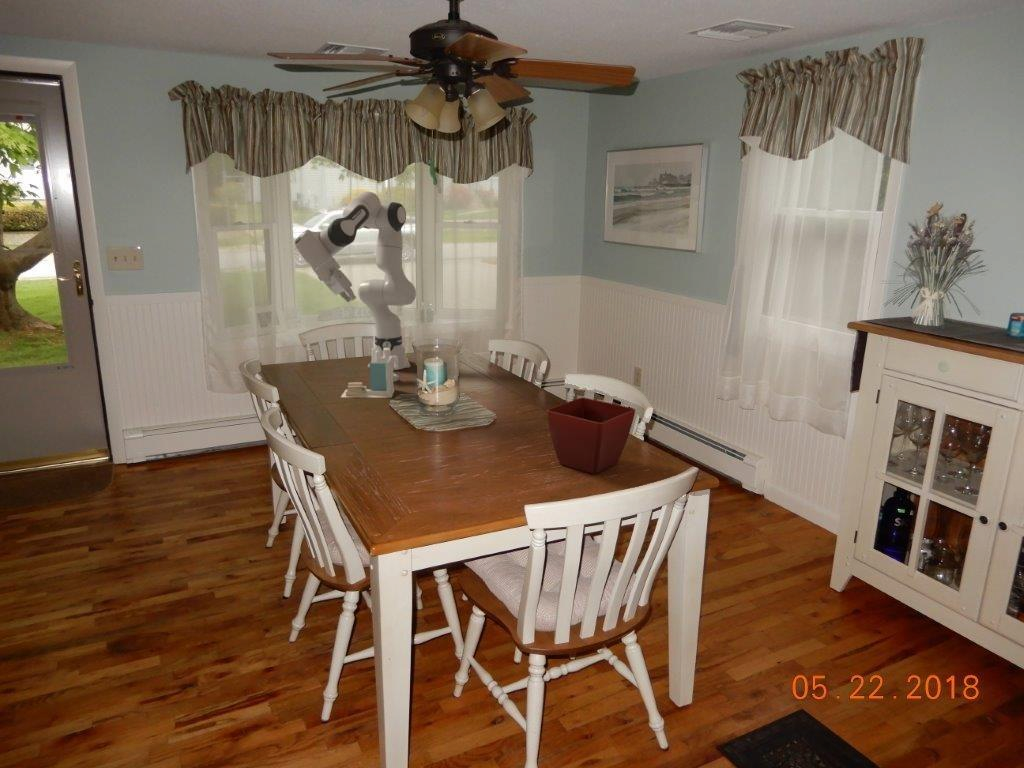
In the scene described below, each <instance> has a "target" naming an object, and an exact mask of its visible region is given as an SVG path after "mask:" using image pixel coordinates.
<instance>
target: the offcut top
mask: <svg viewBox="0 0 1024 768" xmlns="http://www.w3.org/2000/svg"><path fill="white" fill-rule="evenodd" d="M362 386H363V382H362V381H361V382H359V381H357V382H356V381H355V382H348V383H347V389H348V392H351V391H362Z"/></svg>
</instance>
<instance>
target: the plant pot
mask: <svg viewBox="0 0 1024 768" xmlns="http://www.w3.org/2000/svg"><path fill="white" fill-rule="evenodd" d="M635 413H636V409H635V408H633V407H629V406H624V405H619V404H616V403H612V402H611V403H610V402H606V401H602V400H597V399H593V398H589V397H578V398H576V399H573V400H570V401H567V402H565V403H562V404H559V405H556V406H553V407H550V408H548V409H546V417H547V422H548V428H549V432H550V437H551V441H552V446H553V448H554V451H555V454H556V458H557V459H558V462H559V464H560V465H562V466H566V467H569V468H573V469H576V470H580V471H582V472H586V473H590V474H595V475H596V474H598V473H600V472H602V471H604V470H606V469H608V468H611V467H612V466H614V465H617V463H618V462H619V460H620V458H621V456H622V453H623V451H624V448H625V446H626V444H627V441H628V439H629V435H630V432H631V430H632V429H631V428H632V425H633V421H634V418H635Z"/></svg>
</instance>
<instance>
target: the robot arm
mask: <svg viewBox="0 0 1024 768" xmlns="http://www.w3.org/2000/svg"><path fill="white" fill-rule="evenodd" d="M342 216H343V217H339V218H335V219H334V220H333V221H332V222H330V224H328V225H327V226H326V227H325V228H324V229H323V230H321V231H312V230H310V229H306V230H305V231H302V233H301V234H300V235H298V237H296V239H295V241H294V245H295V247H296V249H297V251H298V253H299V254H300V255H301V257H302V258H303V259H304V261H305V262H306V263H307V264H309V265H310V267H311V268H312V270H313V272H314V273H315V275H316V276H317V278H318V279H319V281H320V282H323V283H324V285H325V286H326V287H327V288H328V289H329V290H330V291H331V293H333V294H334V295H336V296H338V295H339V296H340V297H341V298H342V299H344V300H345V302H346V303H349V302H350V301H355V300H356V298H357V296H356V295H355V293H354V291H353V290H352V288H351V287H352V286H353V284H352V282H351V281H350V279H349V278H348V277H347V276H346V275H345V273H344V272H343V271H342V270H341V264H339V263H338V262H337V260H336V259H335V257H334V256H335V255H336V254H338V253H339V252H340V251H341V250H343V249H344V248H346V247H347V246H349V245H351V244H352V243H354V241H355V239H356V237H357V236H356V235H357V231H358V230H361V229H368V230H371V229H373V230H378V234H377V235H378V236H377V242H376V254H375V255H376V256H375V264H376V266H377V268H378V269H379V270H381V271H382V272H383V273H386V276H387V279H375V278H373V279H367V280H363V281H362V282H361V283H360V284H359V286H358V289H357V294H358V297H359V299H360V301H361V302H362V303H363V304H365V305H366V307H368V309H369V310H370V312H371V315H372V316H373V320H374V329H375V330H374V331H375V336H374V346H373V347H372V348H371V362H376V356H375V352H376V351H379V352H380V357H383V356H384V355H383V348H389V349H390V356H397V357H398V369H395V368H394V363H393V371H398V370H403V369H408V368H411V364H410V361H409V359H408V357H407V355H406V348H405V347H404V346H403V345H402V344H403V336H402V331H401V318H400V317H399V316H398V315H397V314H395V313H393V311H391V309H390V308H389V306H395V307H397V306H398V307H399V306H401V307H402V306H403V307H404V306H408V305H412V303H414V302H415V300H416V296H417V290H416V287H415V285H414V284H413V282H411V281H410V280H409V279H408V278H407V276H406V275H405V272H404V269H403V233H402V228H403V227H404V225H405V223H406V221H407V212H406V209H405V207H404V205H403V204H402V203H400V202H395V201H392V202H388V201H381V200H380V198H379V196H378V195H377V194H376V193H374V192H372V191H365V192H362V193H360V194H358V195H357V196H355V197H354V198H353V199H351V201H350V202H348V204H346V206H345V208H344V209H343V212H342ZM367 368H370V366H369V363H368V364H367Z"/></svg>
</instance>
